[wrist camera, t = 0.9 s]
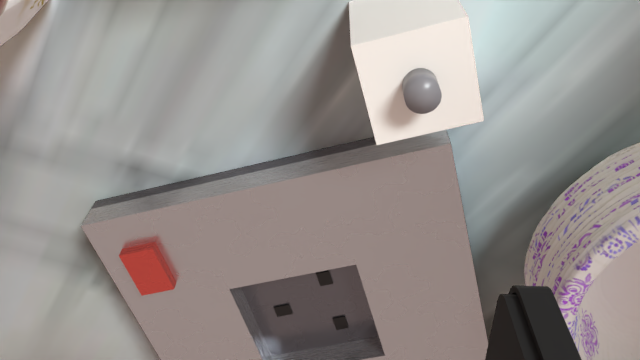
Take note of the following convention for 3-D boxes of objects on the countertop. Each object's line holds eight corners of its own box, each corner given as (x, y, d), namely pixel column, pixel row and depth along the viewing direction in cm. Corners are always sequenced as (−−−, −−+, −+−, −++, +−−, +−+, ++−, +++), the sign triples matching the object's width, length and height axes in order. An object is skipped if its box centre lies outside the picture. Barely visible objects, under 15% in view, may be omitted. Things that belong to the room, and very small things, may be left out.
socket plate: (443, 121, 31) (452, 149, 29) (491, 374, 42) (501, 412, 39) (95, 201, 35) (76, 232, 32) (218, 417, 45) (211, 455, 42)
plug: (444, -24, 28) (474, 26, 22) (459, 66, 30) (490, 134, 24) (348, 1, 28) (351, 57, 22) (370, 88, 31) (378, 159, 25)
